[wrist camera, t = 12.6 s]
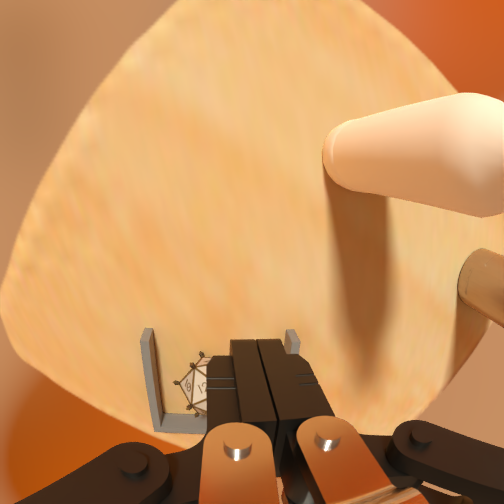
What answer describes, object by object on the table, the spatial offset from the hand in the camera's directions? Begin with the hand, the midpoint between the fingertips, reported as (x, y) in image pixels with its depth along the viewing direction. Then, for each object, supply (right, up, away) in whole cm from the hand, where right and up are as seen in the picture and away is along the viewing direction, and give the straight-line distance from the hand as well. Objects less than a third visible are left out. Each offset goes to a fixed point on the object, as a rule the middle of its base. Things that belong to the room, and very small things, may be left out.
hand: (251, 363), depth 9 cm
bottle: (+11, +14, +24) cm, 30 cm away
